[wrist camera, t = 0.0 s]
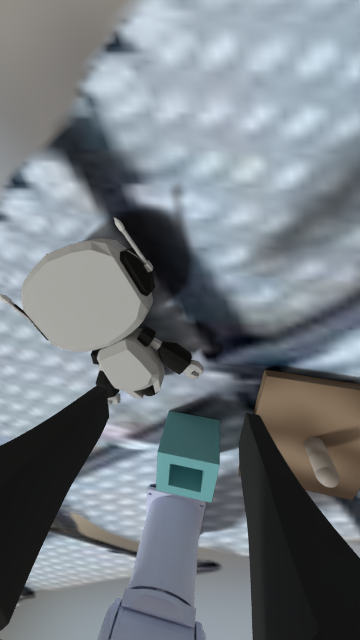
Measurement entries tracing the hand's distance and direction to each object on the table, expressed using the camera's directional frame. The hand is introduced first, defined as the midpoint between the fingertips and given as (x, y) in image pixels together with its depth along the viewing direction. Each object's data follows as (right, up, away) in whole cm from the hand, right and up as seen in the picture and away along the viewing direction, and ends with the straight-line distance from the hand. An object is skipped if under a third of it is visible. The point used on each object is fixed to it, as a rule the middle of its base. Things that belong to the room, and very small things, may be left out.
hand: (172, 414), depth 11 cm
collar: (+2, -8, +14) cm, 16 cm away
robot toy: (-5, +5, +10) cm, 13 cm away
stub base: (+14, -7, +12) cm, 19 cm away
